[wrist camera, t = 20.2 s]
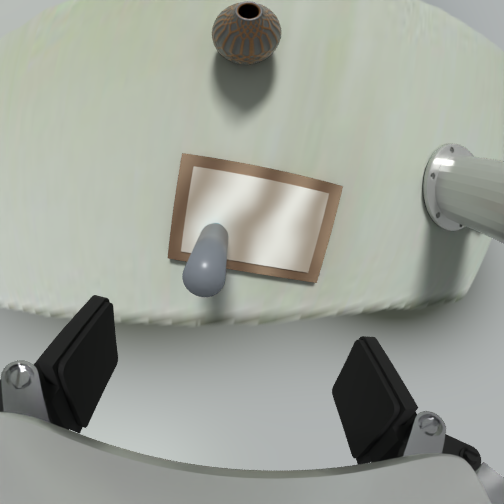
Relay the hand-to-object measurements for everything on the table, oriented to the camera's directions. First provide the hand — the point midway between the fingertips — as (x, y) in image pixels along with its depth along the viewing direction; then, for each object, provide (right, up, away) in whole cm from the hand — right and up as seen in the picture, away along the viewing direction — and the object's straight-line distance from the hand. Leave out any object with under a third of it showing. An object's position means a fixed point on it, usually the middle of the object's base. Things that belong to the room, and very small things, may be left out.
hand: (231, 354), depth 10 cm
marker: (-3, +6, +21) cm, 22 cm away
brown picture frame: (+1, +7, +22) cm, 23 cm away
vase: (0, +27, +15) cm, 31 cm away
